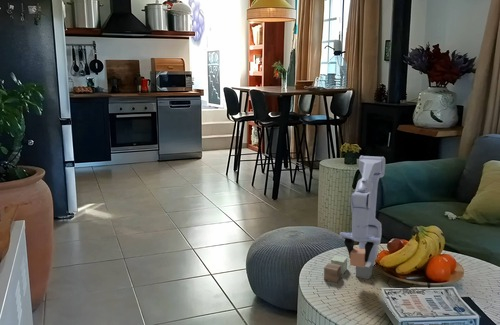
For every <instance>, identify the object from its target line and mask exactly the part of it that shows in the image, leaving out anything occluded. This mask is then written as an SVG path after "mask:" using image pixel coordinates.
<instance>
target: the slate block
mask: <svg viewBox="0 0 500 325" xmlns="http://www.w3.org/2000/svg"><path fill="white" fill-rule="evenodd" d="M372 274H373V266H372V262H369V261H367V264H366V265H365V267H364V268H363V267H358V266H355V278H360V279H365V280H369V279H370V278H371V277H372Z"/></svg>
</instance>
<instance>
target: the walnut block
mask: <svg viewBox="0 0 500 325" xmlns="http://www.w3.org/2000/svg"><path fill="white" fill-rule="evenodd" d="M341 278H342V274H341V265H337V264H332V263H331V262H328V263H327V264H326V265H325V266H324V268H323V280H324V281H328V282H333V283H338V282H339V280H341Z"/></svg>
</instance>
